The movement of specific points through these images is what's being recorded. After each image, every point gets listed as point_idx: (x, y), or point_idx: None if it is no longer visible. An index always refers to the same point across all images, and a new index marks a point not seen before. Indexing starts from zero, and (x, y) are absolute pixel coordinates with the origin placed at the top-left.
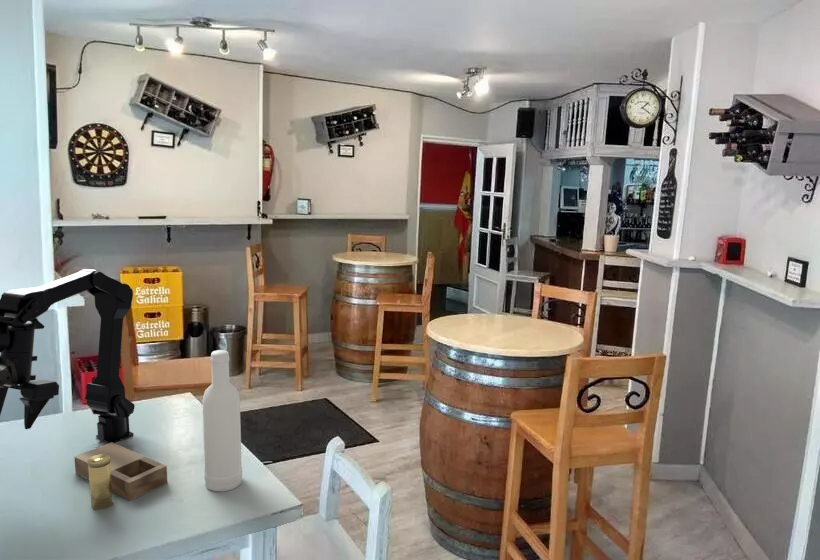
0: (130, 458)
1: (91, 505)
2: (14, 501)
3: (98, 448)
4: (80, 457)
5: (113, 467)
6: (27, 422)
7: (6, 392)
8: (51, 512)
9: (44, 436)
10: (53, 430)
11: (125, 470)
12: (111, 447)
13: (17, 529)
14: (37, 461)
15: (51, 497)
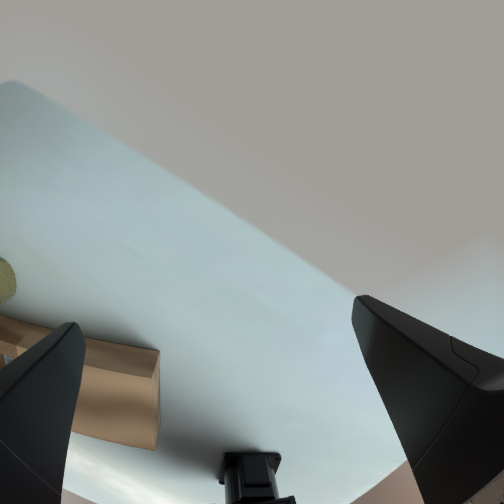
0: None
1: (2, 261)
2: (156, 186)
3: (147, 424)
4: (133, 380)
5: None
6: (36, 346)
7: (422, 490)
8: (41, 202)
9: None
10: (389, 424)
11: None
12: (127, 434)
13: (45, 121)
14: (305, 346)
15: (96, 246)
